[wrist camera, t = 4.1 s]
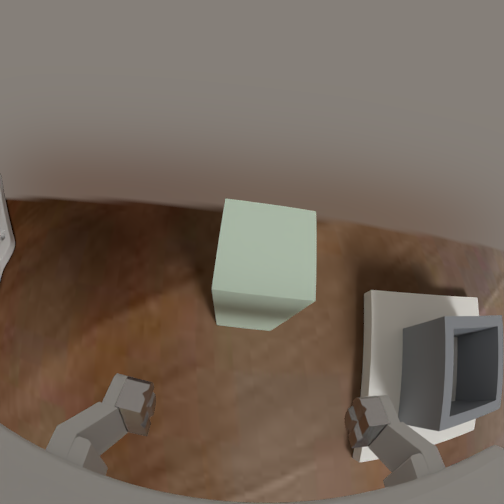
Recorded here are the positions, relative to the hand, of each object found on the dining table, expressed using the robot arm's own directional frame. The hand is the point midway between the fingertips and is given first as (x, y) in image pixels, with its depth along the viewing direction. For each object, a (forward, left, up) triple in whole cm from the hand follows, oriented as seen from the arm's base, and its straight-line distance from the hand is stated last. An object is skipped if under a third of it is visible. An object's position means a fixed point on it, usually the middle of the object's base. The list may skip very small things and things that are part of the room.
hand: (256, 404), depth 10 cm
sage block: (-6, +4, -12) cm, 14 cm away
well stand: (+10, +16, -12) cm, 23 cm away
